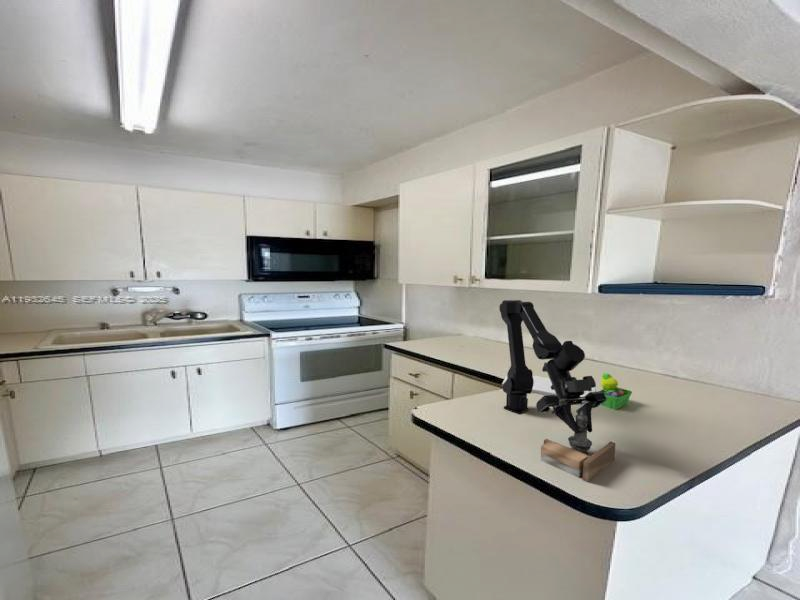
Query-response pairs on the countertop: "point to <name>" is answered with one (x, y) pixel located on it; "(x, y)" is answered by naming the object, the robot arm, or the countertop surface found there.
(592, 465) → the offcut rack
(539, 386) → the decorative molding
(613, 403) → the fruit basket
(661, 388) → the countertop surface
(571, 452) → the teak offcut
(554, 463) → the grey mdf offcut
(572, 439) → the grey rounded upright piece
